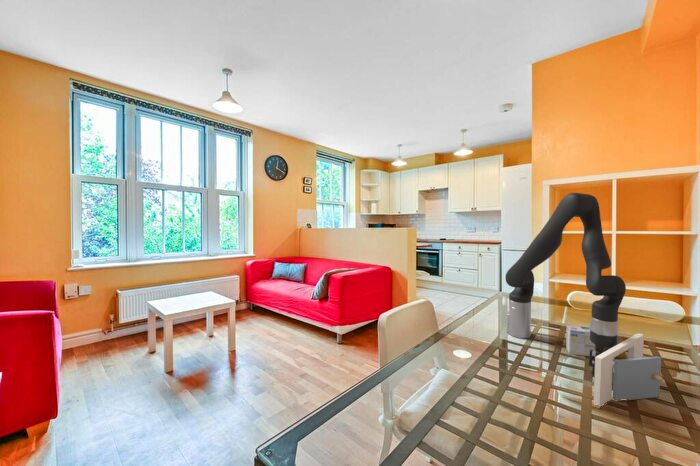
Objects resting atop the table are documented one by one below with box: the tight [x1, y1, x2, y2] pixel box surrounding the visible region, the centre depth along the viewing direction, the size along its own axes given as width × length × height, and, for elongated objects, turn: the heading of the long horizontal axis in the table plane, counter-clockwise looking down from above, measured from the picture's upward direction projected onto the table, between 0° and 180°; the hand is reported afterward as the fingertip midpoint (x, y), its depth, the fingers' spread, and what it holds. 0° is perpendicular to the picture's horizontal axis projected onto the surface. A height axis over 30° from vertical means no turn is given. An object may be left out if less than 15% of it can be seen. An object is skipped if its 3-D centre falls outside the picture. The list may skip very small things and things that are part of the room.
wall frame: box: [593, 332, 645, 406], centre depth 97 cm, size 2×32×16 cm, turn 118°
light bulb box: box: [565, 323, 595, 357], centre depth 122 cm, size 11×7×11 cm, turn 65°
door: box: [612, 355, 664, 401], centre depth 92 cm, size 3×15×13 cm, turn 96°
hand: (602, 373), depth 105 cm, fingers open, 8 cm apart
